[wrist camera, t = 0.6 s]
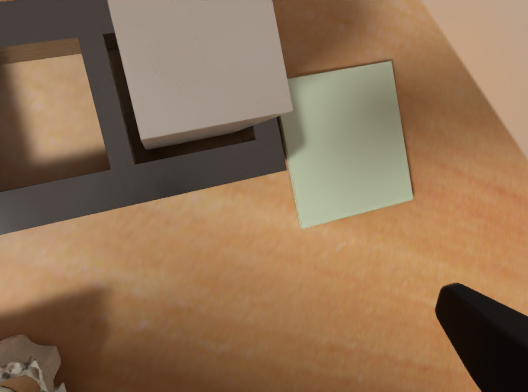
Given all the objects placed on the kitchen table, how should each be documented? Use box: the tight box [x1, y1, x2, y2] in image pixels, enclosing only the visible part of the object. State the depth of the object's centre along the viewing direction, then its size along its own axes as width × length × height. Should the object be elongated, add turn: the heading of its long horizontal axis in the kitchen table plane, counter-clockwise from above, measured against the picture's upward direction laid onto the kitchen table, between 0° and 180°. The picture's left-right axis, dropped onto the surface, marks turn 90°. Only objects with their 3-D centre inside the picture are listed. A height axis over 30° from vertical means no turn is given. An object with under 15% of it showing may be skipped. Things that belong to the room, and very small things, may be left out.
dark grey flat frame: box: [0, 0, 287, 235], centre depth 19 cm, size 9×15×2 cm, turn 102°
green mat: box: [278, 61, 413, 229], centre depth 23 cm, size 8×7×1 cm
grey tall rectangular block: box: [107, 0, 293, 150], centre depth 16 cm, size 4×4×10 cm
